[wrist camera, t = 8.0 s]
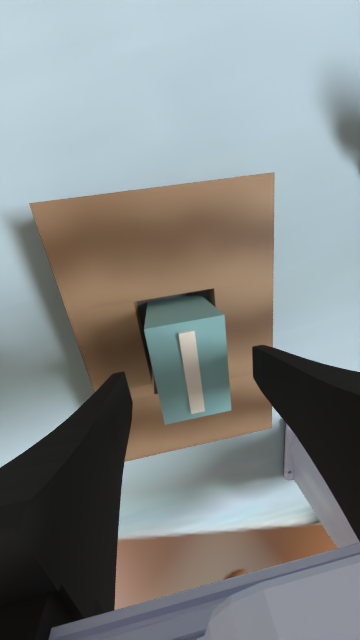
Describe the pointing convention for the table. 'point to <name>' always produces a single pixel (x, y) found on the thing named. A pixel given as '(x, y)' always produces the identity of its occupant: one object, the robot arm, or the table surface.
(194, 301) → the teal striped block
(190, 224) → the keyed socket
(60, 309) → the table surface
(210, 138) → the table surface
